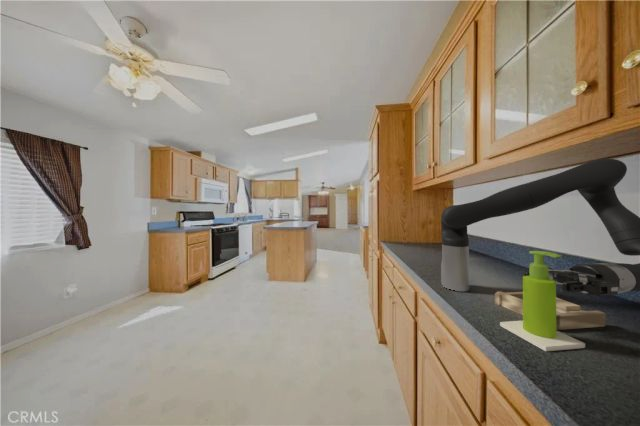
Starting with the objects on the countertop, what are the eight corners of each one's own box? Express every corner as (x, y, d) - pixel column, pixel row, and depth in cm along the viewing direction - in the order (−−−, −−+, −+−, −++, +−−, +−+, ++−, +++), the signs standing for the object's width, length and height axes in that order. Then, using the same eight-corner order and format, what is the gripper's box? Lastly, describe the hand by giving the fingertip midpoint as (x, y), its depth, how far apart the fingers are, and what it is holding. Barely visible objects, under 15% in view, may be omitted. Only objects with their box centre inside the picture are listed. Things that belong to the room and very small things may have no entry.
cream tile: (500, 325, 60) (500, 322, 60) (533, 323, 61) (533, 319, 61) (545, 351, 49) (545, 346, 49) (585, 347, 50) (585, 343, 50)
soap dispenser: (551, 342, 50) (551, 254, 50) (517, 327, 57) (516, 249, 57) (568, 338, 52) (568, 253, 52) (532, 323, 58) (532, 248, 58)
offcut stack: (530, 305, 72) (530, 293, 72) (544, 304, 72) (544, 292, 72) (572, 322, 61) (572, 308, 61) (588, 321, 61) (588, 307, 61)
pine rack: (494, 303, 74) (494, 291, 73) (537, 301, 75) (537, 289, 75) (552, 330, 57) (552, 315, 57) (605, 326, 59) (605, 311, 59)
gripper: (566, 258, 63) (515, 260, 62) (643, 271, 49) (580, 274, 48) (566, 284, 63) (515, 286, 62) (643, 304, 49) (580, 309, 48)
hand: (543, 281), depth 55 cm, fingers open, 8 cm apart
